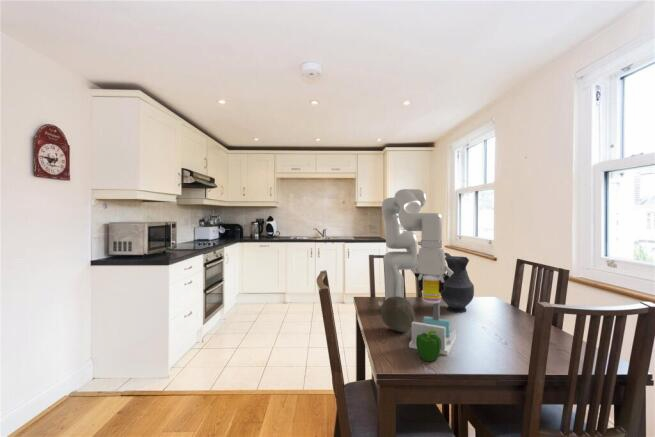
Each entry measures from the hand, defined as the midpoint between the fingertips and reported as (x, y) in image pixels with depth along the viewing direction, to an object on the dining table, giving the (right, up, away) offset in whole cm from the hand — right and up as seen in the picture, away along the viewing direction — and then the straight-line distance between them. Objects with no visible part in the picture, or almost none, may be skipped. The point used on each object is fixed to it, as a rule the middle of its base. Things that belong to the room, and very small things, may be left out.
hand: (431, 290), depth 125 cm
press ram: (+5, -19, +8) cm, 22 cm away
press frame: (+2, -21, +3) cm, 22 cm away
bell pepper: (-5, -22, -11) cm, 25 cm away
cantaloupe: (-10, -21, +16) cm, 28 cm away
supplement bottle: (0, -4, 0) cm, 4 cm away
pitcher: (+28, -21, +50) cm, 61 cm away
